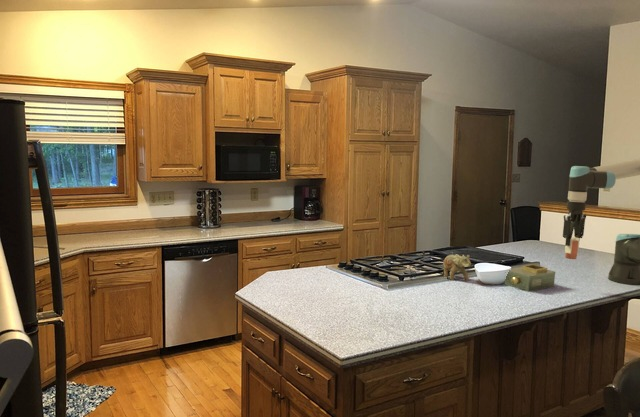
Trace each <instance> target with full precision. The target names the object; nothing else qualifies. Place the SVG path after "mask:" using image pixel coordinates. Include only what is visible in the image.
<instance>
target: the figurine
mask: <svg viewBox="0 0 640 417" xmlns="http://www.w3.org/2000/svg"><path fill="white" fill-rule="evenodd" d="M461 255H462V256H461ZM461 255H459V254H457V253H456V254H449V255H447V256H446V257H445V258H444V259H443V261H442V262H443V263H442V268H443V277H444V276H445V277H447V278H448V277H449V278H448V279H447V280H451V281H454V280H456V279H455V277H454V276H455V273H456V274H457V273H458V272H459V273H461V274H462V275H463V278H464V279H463V280H464V281H466V282H469V281H470V277H469V276H468V275H469V274H468V272H467V270H466V269H465V267H471V266H472V262H471V260H470V257H471V256H470V254H467V255H466V256H465V254H461Z"/></svg>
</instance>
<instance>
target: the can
mask: <svg viewBox="0 0 640 417" xmlns="http://www.w3.org/2000/svg"><path fill="white" fill-rule="evenodd" d="M571 239H573V241H572V251H571V254H570V253H565V256H564V257H565V258H566V259H568V260H577V257H578V253H577V249H578V241H577V240H576V238H573V237H572V238H571Z"/></svg>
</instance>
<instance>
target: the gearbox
mask: <svg viewBox="0 0 640 417" xmlns="http://www.w3.org/2000/svg"><path fill="white" fill-rule="evenodd" d="M510 269H511V270H509V272H508V274H507V276H506V279H505V278H504V285H506V286H509V287H512V288H515V289H519V290H522V291H526V292H528V293H529V292H533V291H534V292H535V291H539V290H544V289H548V288H553V287H555V280H556V271H554V270H551V269H550V270H549V269H548V267H546V266H545V267H544V266H541V265H537V264H534V263H533V264H527V265H522V266H520V267H519V266H518V267H515V268H514V267H513V268H510Z"/></svg>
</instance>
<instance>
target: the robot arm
mask: <svg viewBox="0 0 640 417" xmlns="http://www.w3.org/2000/svg"><path fill="white" fill-rule="evenodd" d="M636 176H640V158H637V159H631V160H626V161H621V162H616V163H610V164H605V165H600V166H593V167H589V166H582V165H580V166H579V165H573V166H571V168H570V172H569V181H568V191H567V192H568V193H567V200H568V201H567V202H566V209H567V210H568V213H567V215H566V214H565V215H563V227H562V228H563V230H562V237H563V238H564V239H565V245H564V246H565V247H564V253H565V254H566V253H570V254H571V251H572V241H573V239H571V238H576V240H577V241H578V249H577V254H578V253H579V249H580V248H579V247H580V239H582V238H583V237H584V233H585V224H586V219H587V214H584V211H586V206H587V202H586V201H587V196H588V189H605V190H606V189H612V188H613V187H614V186H615V184H616V180H620V179H626V178H631V177H636ZM573 233H574V234H573ZM573 235H574V237H573ZM614 246H615V247H614V258H613V264H612V266H611V268H610V270H609V273H608V277H607V279H608V280H610V281H612V282H616V283H620V284H625V285H635V286H636V285H640V233H639V234H638V233H618V234H617V235H616V238H615V245H614Z"/></svg>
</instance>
